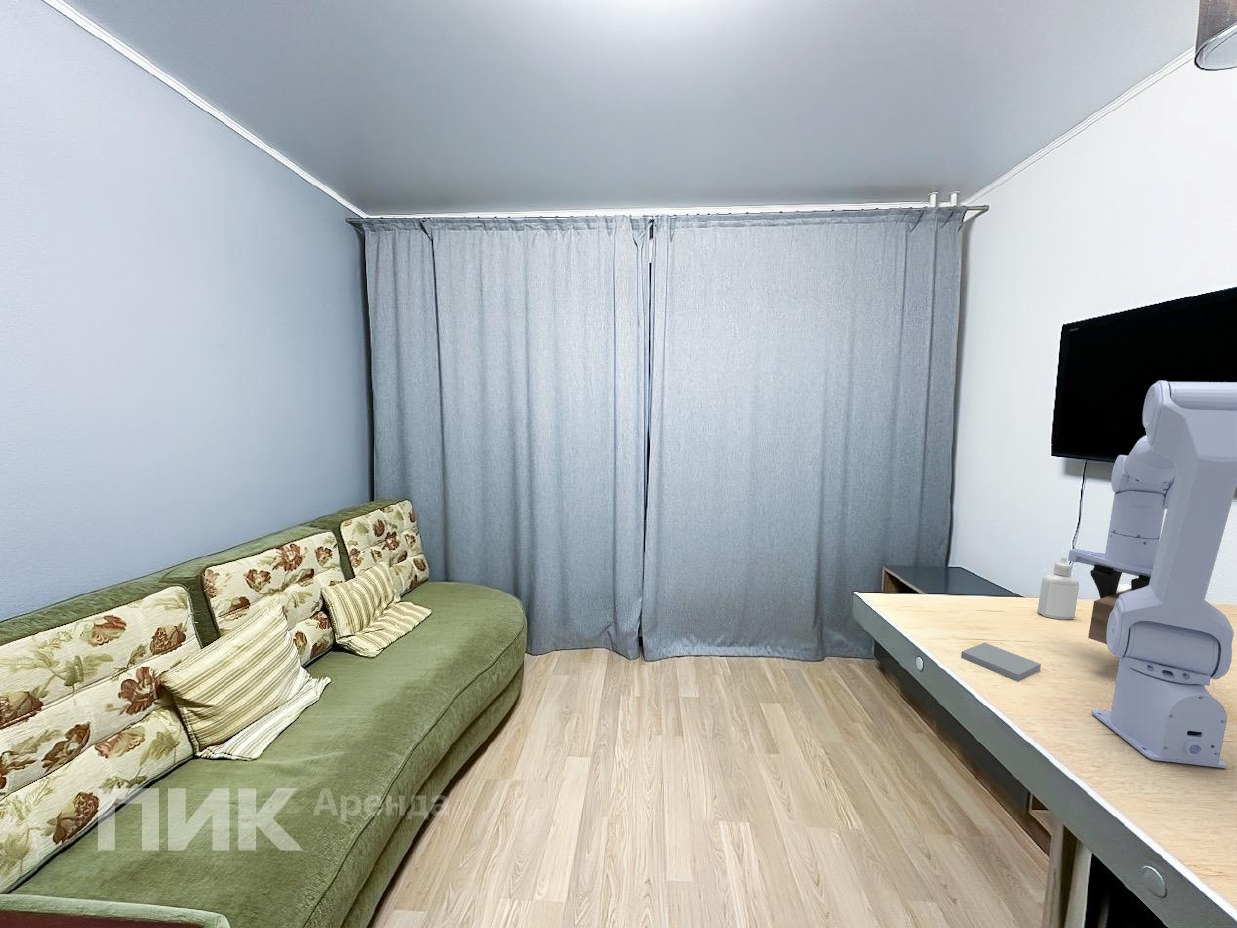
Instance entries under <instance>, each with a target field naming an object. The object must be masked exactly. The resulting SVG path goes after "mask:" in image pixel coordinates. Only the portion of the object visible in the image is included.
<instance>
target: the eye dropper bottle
mask: <svg viewBox="0 0 1237 928" xmlns="http://www.w3.org/2000/svg"><path fill="white" fill-rule="evenodd" d="M1071 569H1072V565H1071V564H1069V563H1068V558H1067V557H1066V556H1061V558H1060V560H1059V561H1057V562H1055V563H1054V568H1053V573H1051V574H1047V575H1045V576H1043V577H1042V580H1041V585H1040V593H1039V599H1038V604H1037V605H1038V606H1037V613H1038V614H1040V615H1042V616H1043V617H1045V618H1049V619H1055V620H1067V621H1068V620H1073V619H1075V616H1076V608H1077V603H1078V597H1079V596H1078V595H1079V590H1080V583H1079V581H1078V580H1077V579H1076V578H1074V577H1072V576H1071V571H1072V570H1071Z"/></svg>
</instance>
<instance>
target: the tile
mask: <svg viewBox="0 0 1237 928" xmlns="http://www.w3.org/2000/svg"><path fill="white" fill-rule="evenodd" d="M960 658H961V659H963V660H966V661H968V662H971V663H973V664H976V665H977V666H980V667H983V668H985V669H988V670H989V671H991V672H993V673H996V674H999V675H1001V676H1004V677H1006V678H1009V679H1010V680H1013V681H1015V682H1016V683H1017V682H1020V681H1022V680H1024V679H1026V678H1028V677H1030V676H1032V675H1035V674H1037V673H1038V672H1040V671H1041V666H1042V663H1039V662H1037V661H1035V660H1032V659H1029V658H1026V657H1025V656H1024V657H1023V656H1020V655H1018V654H1015V653H1013V652H1010V651H1008V650H1005V649H1004V648H1003V649H1002V648H1000V647H997V646H995V645H993V644H989V643H987V642H982V643H980V644H978V645H974V646H972V647H970V648H967V649H964V650H962V651H961V653H960Z"/></svg>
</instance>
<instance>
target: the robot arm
mask: <svg viewBox="0 0 1237 928" xmlns="http://www.w3.org/2000/svg"><path fill="white" fill-rule="evenodd" d="M1143 403H1144V404H1143V408H1142V425H1143V427H1144V428H1145V429H1144V430H1145V433H1146V434H1145V435H1143V436H1142V437H1140V438H1139V439H1138V440H1137V442H1136V443H1135V445H1134V446H1133V448H1132V449H1131V451H1130V452H1129V454H1128V455H1125V454H1119V455H1118V456H1117V457H1116V459H1115V462H1114V465H1113V467H1112V471H1111V477H1110V478H1111V489H1112V491H1113V492H1114V495H1113V502H1112V509H1111V514H1110V520H1109V527H1108V534H1107V538H1106V539H1107V540H1106V546H1105V553H1101V552H1095V551H1090V550H1089V551H1088V550H1084V549H1078V548H1073V549H1069V551H1068V558H1067V562H1072V563H1080V564H1083V565H1089V566H1093V568H1092V569H1091V570H1090V571H1089V572H1090V573H1089V574H1090V577H1091V579H1092V580H1093V582H1094V584H1095V586H1096V589H1097V592H1098V595H1099V599H1101V598H1104V597H1107V596H1110V595H1113V594H1116V592H1117V588H1118V584H1120V581H1121V577H1122V575H1123V574H1128V575H1131V576H1135V578H1133V579H1131V580H1130V585H1131V591H1130V592H1127V593H1124V594H1121V595H1119V599H1117V600H1116V603H1115V606H1114V609H1113V611H1112V612H1111V613H1110V616H1109V619H1108V624H1107V644H1106V647H1107V650H1108V651H1109V652H1110V653H1111V655H1112V656H1113V657H1115V658H1118V659H1119V660H1118V661H1119V662H1118V667H1117V674H1116V679H1115V686H1114V690H1113V691H1114V692H1113V697H1112V703H1111V704H1112V705H1111V709H1110V710H1099V709H1091V714H1092V715H1093V716H1094V717H1096V718H1097V719H1098V720H1099V721H1101V722H1102V723H1104V725H1105V726H1107V727H1109V729H1111V730H1112V731H1113V732H1114V733H1116V734H1117V735H1119V736H1120V737H1121V738H1122V739H1124V741H1126V742H1127V743H1129V744H1130V745H1131V746H1132V747H1134V749H1136V750H1137V751H1139V752H1140V753H1141V754H1143V756H1145V757H1146V758H1148V759H1150V760H1152V761H1160V762H1168V763H1170V762H1171V763H1178V764H1187V765H1196V766H1202V767H1203V766H1205V767H1212V768H1222V769H1226V768H1227V766H1228V765H1227V763H1226V762H1225V761H1223V760H1221V759H1220V757H1221V754H1222V753H1221V752H1222V748H1223V743H1224V737H1225V732H1226V726H1227V721H1228V720H1227V719H1228V717H1227V716H1228V714H1227V711H1226V709H1225V707H1224V706H1223V705H1222V703H1221V702H1220V701H1218V699H1216V698H1215V697H1214V696H1212V694H1211V693H1209V691H1208V690H1207V688H1206V686H1208V687H1209V686H1210V685H1211V679H1212V680H1219V679H1221V678H1222V677H1224V676H1226V675H1227V674H1228V672H1229V670H1230V668H1231V664H1232V661H1233V660H1232V659H1233V648H1232V647H1233V641H1234V640H1233V639H1234V636H1235V631H1234V630H1233V626H1232V625H1231V622H1230V620H1229V618H1228V617H1227V616H1226V615H1225V613H1223V612H1222V611H1221V610H1220V609H1218V608H1217V607H1215V606H1214V605H1212V604H1211V603H1209V602H1208V601H1207V600H1206V598H1207V597H1206V596H1207V592H1208V589H1209V586H1210V582H1211V579H1212V575H1213V571H1214V568H1215V566H1216V565H1215V563H1216V561H1217V557H1218V554H1219V550H1220V546H1221V542H1222V540H1223V535H1224V533H1225V529H1226V524H1227V522H1228V518H1229V515H1230V511H1231V507H1232V505H1233V504H1232V503H1233V500H1234V496H1235V493H1236V489H1237V381H1236V382H1234V381H1233V382H1231V381H1230V382H1227V381H1223V382H1221V381H1220V382H1219V381H1217V382H1216V381H1215V382H1214V381H1211V382H1210V381H1167V380H1157V381H1156V382H1155V383H1153V384H1152V385H1151V386H1150V387H1149V389H1148V390H1147V393H1146V395H1145V399H1144V402H1143ZM1165 510H1166V513H1165ZM1164 515H1165V516H1164ZM1164 517H1165V518H1164Z"/></svg>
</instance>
